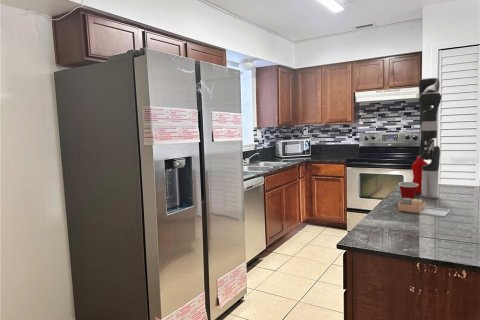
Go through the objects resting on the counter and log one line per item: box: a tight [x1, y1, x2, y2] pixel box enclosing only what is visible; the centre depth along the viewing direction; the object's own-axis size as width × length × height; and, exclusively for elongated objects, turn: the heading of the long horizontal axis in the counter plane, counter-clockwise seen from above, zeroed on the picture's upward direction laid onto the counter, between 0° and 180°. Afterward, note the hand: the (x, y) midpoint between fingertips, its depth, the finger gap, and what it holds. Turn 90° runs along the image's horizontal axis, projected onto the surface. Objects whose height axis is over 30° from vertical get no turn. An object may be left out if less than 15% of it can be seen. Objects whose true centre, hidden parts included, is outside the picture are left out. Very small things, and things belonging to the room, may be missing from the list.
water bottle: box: [410, 155, 429, 194], centre depth 225 cm, size 9×11×25 cm
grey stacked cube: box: [401, 198, 412, 205], centre depth 185 cm, size 4×4×5 cm
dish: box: [397, 200, 426, 214], centre depth 183 cm, size 12×11×4 cm
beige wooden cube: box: [411, 198, 423, 206], centre depth 182 cm, size 4×4×5 cm
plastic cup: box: [398, 181, 418, 200], centre depth 198 cm, size 11×11×12 cm
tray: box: [419, 206, 451, 218], centre depth 176 cm, size 14×12×1 cm
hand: (428, 159), depth 182 cm, fingers open, 8 cm apart
